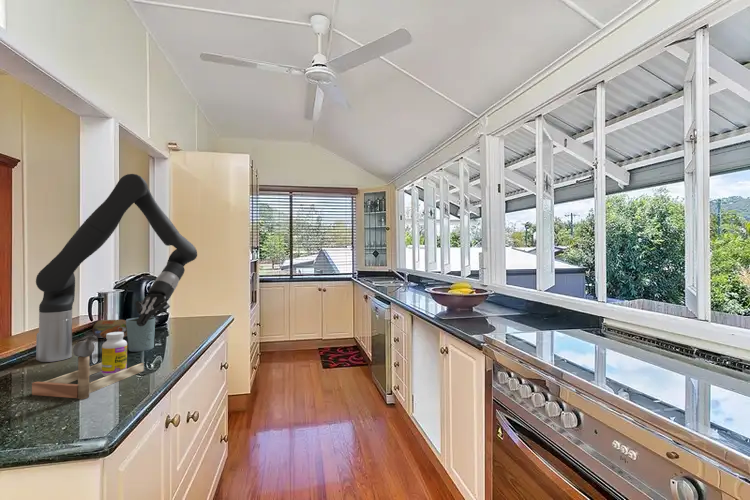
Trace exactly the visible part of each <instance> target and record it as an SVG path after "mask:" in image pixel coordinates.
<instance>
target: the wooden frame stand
mask: <svg viewBox="0 0 750 500" xmlns="http://www.w3.org/2000/svg"><path fill="white" fill-rule="evenodd" d="M97 339H98V338H97V337H96V336H94V335H87V336H86V340H80V341H78V342H76V343H75V344H74V346H73V347H72V353H73V355H74V356H76V357H77V370H74V371H72V372H68V373H65V374H63V375H60V376H57V377H54V378H51V379H48V380H45V381H34V382H32V383H31V395H32V396H42V397H56V398H67V399H69V398H70V399H77V400H86V399H88V398H89V397H90V394H91V393H93V392H96V391H98V390H100V389H104V388H105V387H107V386H110V385H113V384H115V383H117V382H121V381H123V380H125V379H127V378H130V377H132V376H134V375H138V374H140V373H142V372H144V370H145V369H144V367H145V366H144V362H141V363H138V364H135V365H132V366H130V367H128V368H127V369H124V370H121V371H119V372H116V373H114V374H111V375H108V376H103V377H100V378H99V379H95V380H94V381H90V376H92V375H94V374H95V375H96V374H98V373H102V361H101V362H99V363H96V364H93V365H90V359H91V358H90V356H91V355H93V353H94V351H95V344H94V342H93V341H96V340H97ZM76 381H77V384H76V383H73V382H76Z"/></svg>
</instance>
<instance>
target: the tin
mask: <svg viewBox="0 0 750 500" xmlns="http://www.w3.org/2000/svg"><path fill="white" fill-rule="evenodd" d="M111 332H124V336H123V338H125V337H127V327H126V320H125V319H101V320H98V321H96V322H95V323H94V324H93V327H92V334H93V336H96V337H97V339H98V338H106V334H107V333H111Z"/></svg>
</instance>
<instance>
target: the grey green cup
mask: <svg viewBox="0 0 750 500" xmlns="http://www.w3.org/2000/svg"><path fill="white" fill-rule="evenodd" d="M139 317H140V316H139ZM139 317H132V318H127V319H126V320H125V321H126V327H127V336H126V337H127V350H128V352H137V353H138V352H146V351H149V350H152V349H154V347H155V333H156V331H155V327H156V317H154V316H152V317H151V318H149V320H148V321H147V323H146V324H145V325H144V326H138V325H137V323H136V322H137V320H138V318H139Z"/></svg>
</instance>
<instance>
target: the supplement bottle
mask: <svg viewBox="0 0 750 500" xmlns="http://www.w3.org/2000/svg"><path fill="white" fill-rule="evenodd" d="M123 336H124V332H111V333H107V334H106V339H105V340H106V341H104V342H103V343H102V345H101V362H102V371H101V375H102V376H103V377H106V376H108V375H111V374H114V373H116V372H119V371H121V370H124V369H127V367H128V341H127V340H125V339H124V337H123Z"/></svg>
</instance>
